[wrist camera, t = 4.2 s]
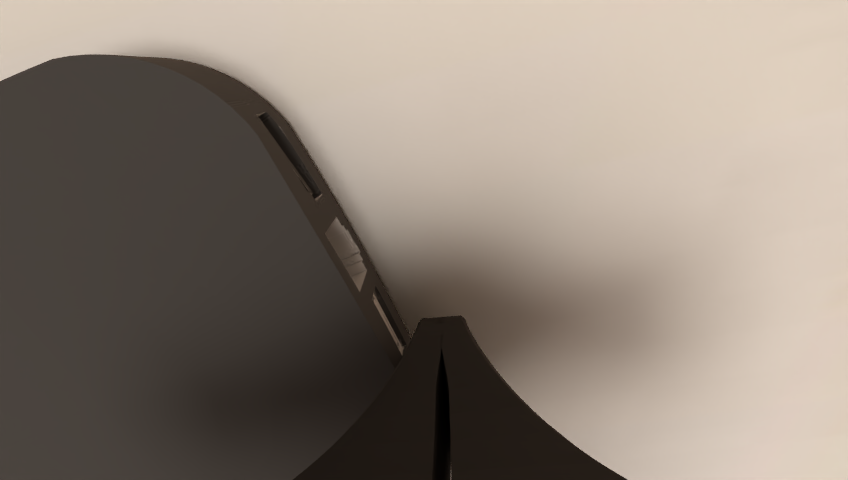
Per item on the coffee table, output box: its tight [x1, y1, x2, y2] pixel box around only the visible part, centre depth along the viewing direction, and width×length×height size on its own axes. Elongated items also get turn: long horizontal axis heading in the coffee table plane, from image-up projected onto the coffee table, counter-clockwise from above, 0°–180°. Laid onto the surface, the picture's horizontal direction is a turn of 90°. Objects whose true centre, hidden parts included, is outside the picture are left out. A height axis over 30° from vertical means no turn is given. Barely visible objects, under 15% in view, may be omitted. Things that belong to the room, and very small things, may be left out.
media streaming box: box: [0, 55, 411, 480], centre depth 12 cm, size 15×15×3 cm
